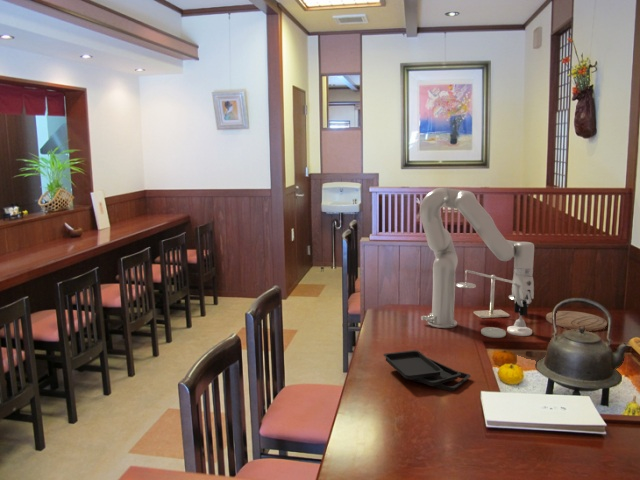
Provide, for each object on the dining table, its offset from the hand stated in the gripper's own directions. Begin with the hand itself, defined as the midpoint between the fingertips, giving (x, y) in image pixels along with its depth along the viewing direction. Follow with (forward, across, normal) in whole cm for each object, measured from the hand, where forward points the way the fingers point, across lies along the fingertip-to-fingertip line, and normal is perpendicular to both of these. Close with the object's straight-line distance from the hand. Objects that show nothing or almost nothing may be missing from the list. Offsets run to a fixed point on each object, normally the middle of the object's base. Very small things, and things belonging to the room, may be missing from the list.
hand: (520, 313), depth 237 cm
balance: (+8, +25, 0) cm, 26 cm away
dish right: (+8, 0, 0) cm, 8 cm away
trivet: (+9, +8, -32) cm, 34 cm away
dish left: (+8, 0, +12) cm, 15 cm away
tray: (+9, -38, +58) cm, 70 cm away
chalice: (+5, 0, 0) cm, 5 cm away
